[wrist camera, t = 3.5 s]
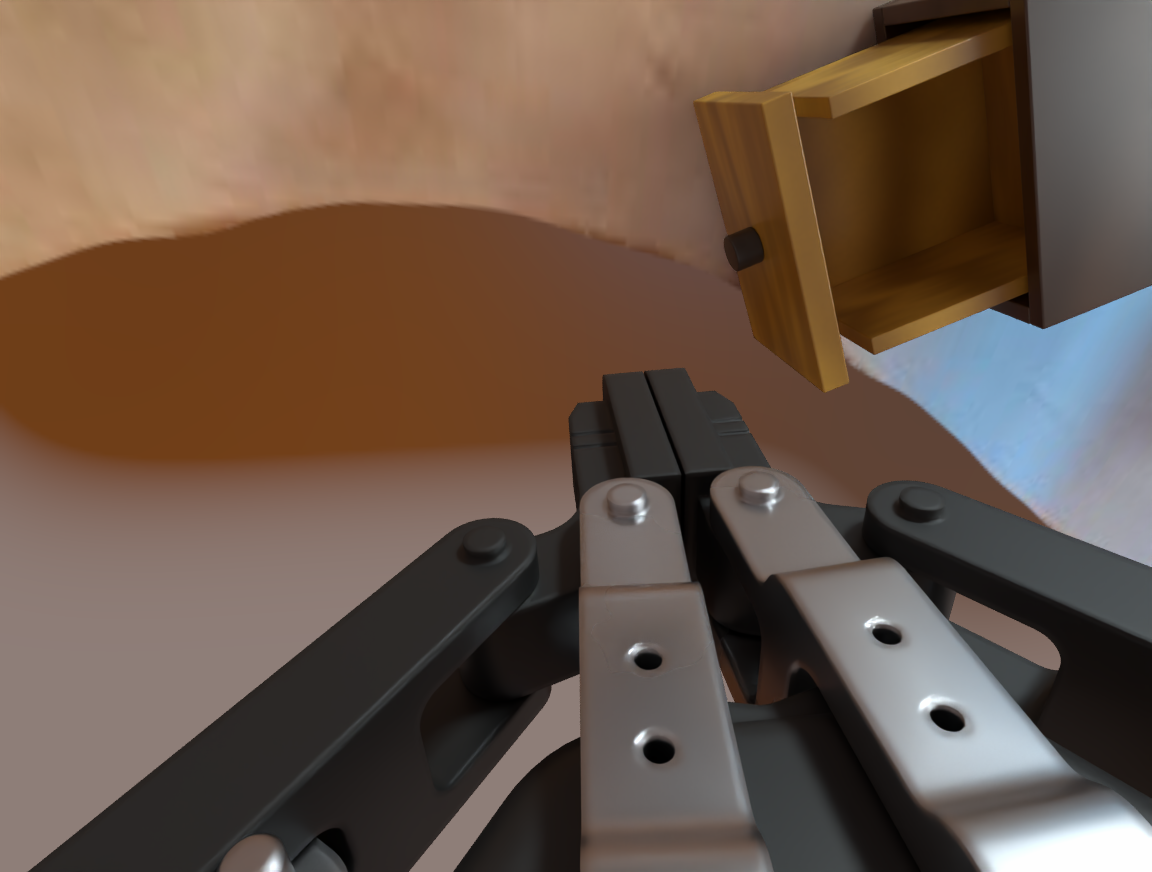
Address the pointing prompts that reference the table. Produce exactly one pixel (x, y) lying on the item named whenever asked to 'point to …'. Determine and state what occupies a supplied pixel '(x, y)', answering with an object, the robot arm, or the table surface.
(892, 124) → the wooden drawer
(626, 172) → the table surface
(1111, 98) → the cabinet
